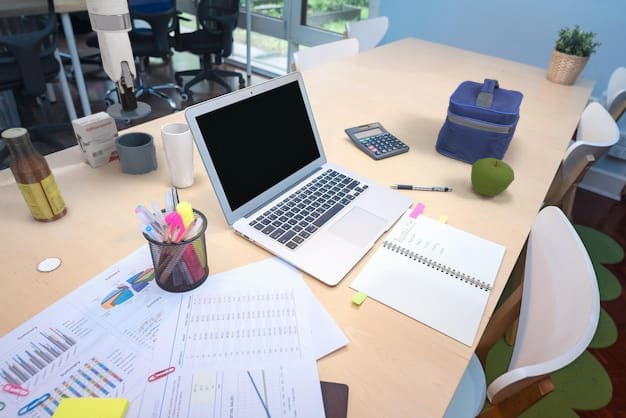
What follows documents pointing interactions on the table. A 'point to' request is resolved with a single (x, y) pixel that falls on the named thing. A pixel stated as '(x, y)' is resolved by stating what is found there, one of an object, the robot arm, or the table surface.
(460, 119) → the lunch bag
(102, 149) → the ink box
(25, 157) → the sauce bottle
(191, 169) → the drinking glass
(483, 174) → the apple
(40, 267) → the white flat disc
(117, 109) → the canister lid
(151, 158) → the canister
